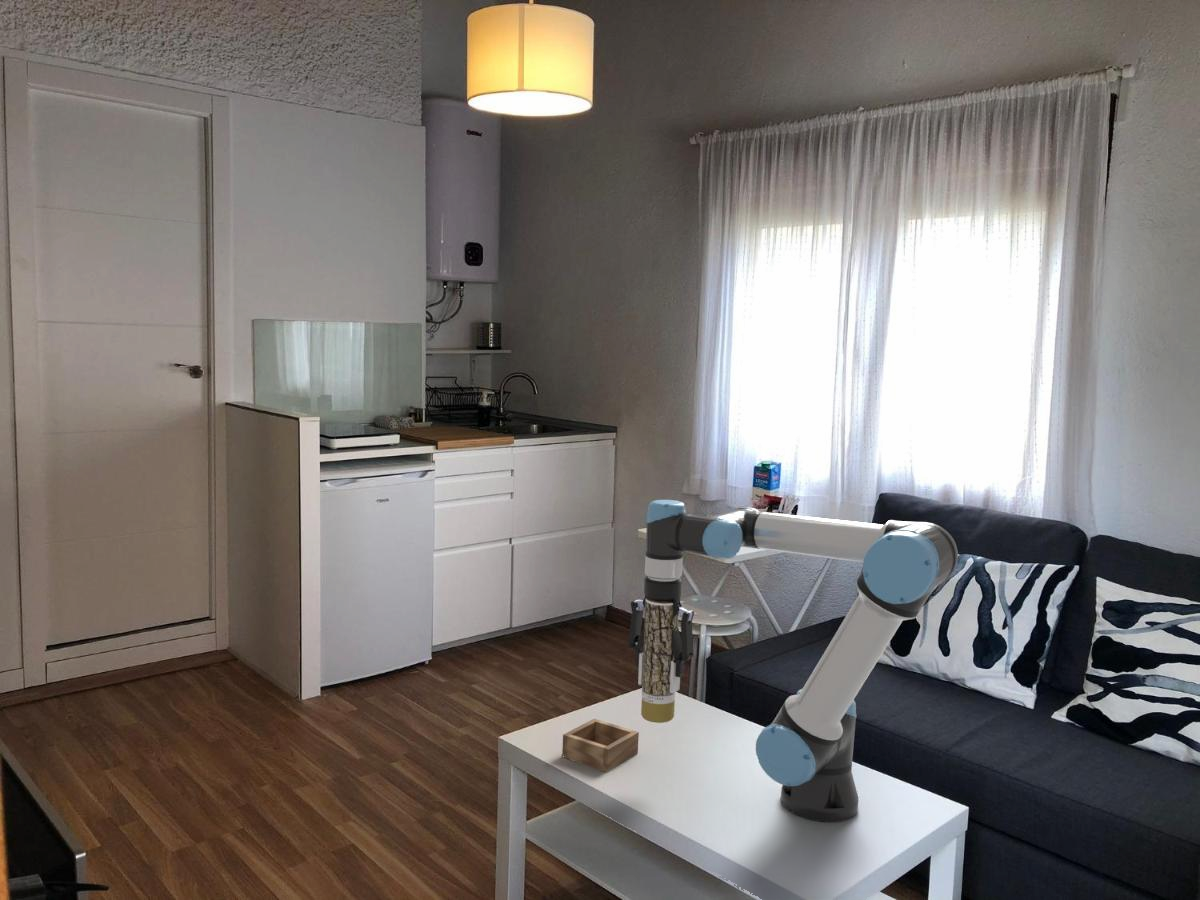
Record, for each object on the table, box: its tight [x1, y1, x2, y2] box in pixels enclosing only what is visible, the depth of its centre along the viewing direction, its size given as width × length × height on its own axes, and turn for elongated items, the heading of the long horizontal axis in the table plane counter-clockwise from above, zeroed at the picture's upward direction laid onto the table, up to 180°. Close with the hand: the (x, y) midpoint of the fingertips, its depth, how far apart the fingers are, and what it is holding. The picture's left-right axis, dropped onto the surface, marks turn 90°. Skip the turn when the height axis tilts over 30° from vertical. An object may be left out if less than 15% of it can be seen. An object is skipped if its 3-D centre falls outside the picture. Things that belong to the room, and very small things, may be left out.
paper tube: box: [640, 597, 680, 724], centre depth 205 cm, size 7×7×25 cm
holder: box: [561, 718, 640, 773], centre depth 220 cm, size 12×12×5 cm
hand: (658, 686), depth 206 cm, fingers closed on paper tube, 7 cm apart
